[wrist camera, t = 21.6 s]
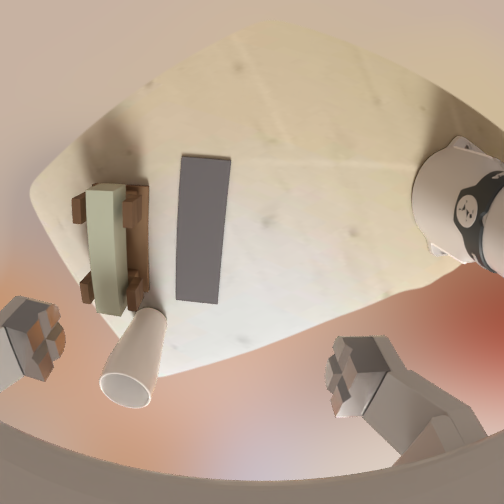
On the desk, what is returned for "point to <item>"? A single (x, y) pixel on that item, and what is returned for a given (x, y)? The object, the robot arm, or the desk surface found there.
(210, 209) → the pad
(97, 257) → the clay strip
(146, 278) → the rack
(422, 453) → the robot arm
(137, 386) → the drinking glass
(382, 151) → the desk surface
